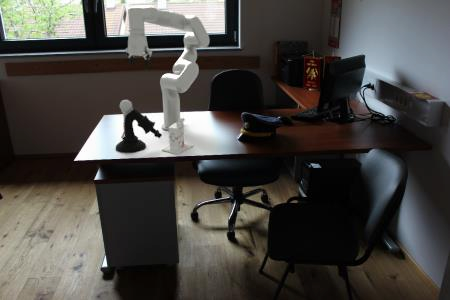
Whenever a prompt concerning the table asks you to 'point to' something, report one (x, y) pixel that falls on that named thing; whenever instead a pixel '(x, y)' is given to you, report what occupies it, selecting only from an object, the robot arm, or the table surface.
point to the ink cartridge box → (176, 135)
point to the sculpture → (130, 140)
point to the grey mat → (178, 150)
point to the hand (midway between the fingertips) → (139, 66)
